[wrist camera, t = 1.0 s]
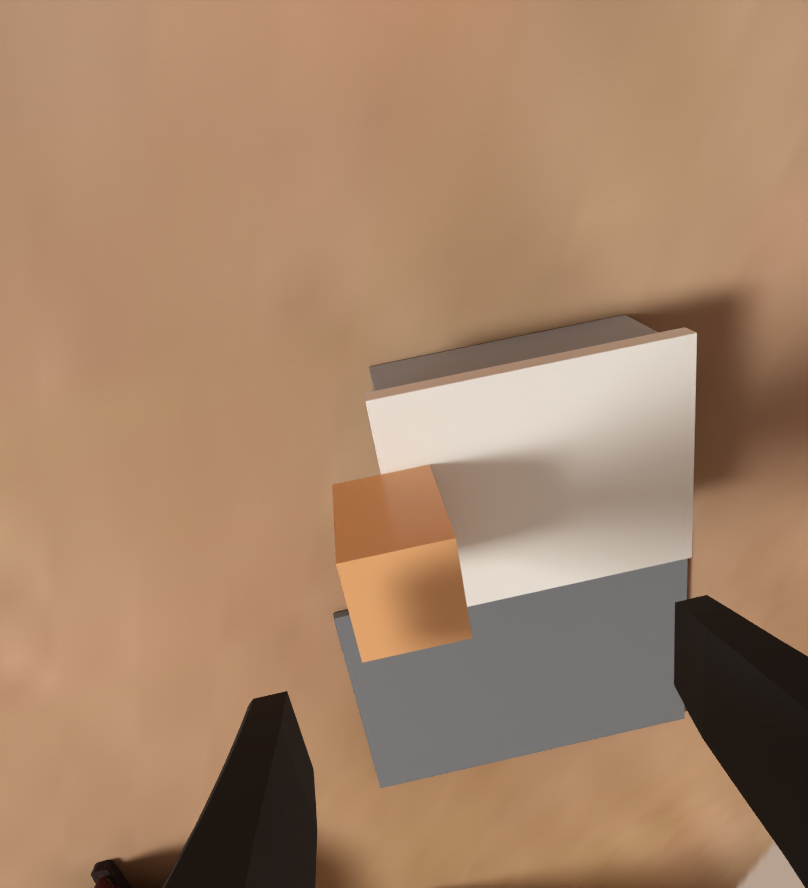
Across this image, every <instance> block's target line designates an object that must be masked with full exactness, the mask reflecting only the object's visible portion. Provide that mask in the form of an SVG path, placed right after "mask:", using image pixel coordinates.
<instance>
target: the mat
mask: <svg viewBox="0 0 808 888" xmlns="http://www.w3.org/2000/svg"><path fill="white" fill-rule="evenodd" d="M687 564H688V558H687V559H683V560H678V561H673V562H669V563H664V564H660V565H655V566H651V567H646V568H642V569H637V570H633V571H628V572H624V573H619V574H615V575H610V576H605V577H601V578H596V579H592V580H587V581H583V582H578V583H574V584H569V585H565V586H560V587H556V588H551V589H546V590H542V591H537V592H533V593H528V594H524V595H519V596H515V597H510V598H506V599H501V600H497V601H492V602H487V603H483V604H478V605H474V606H469V607H467V609H468V615H469V621H470V628H471V634H472V638H471V639H467V640H462V641H458V642H453V643H449V644H444V645H440V646H435V647H431V648H426V649H422V650H417V651H413V652H408V653H404V654H399V655H395V656H390V657H386V658H381V659H377V660H372V661H368V662H363V663H362V660H361V657H360V653H359V649H358V645H357V641H356V638H355V634H354V630H353V626H352V622H351V619H350V615H349V611H348V610H346V611H341V612H336V613H334V621H335V625H336V629H337V632H338V636H339V639H340V643H341V647H342V650H343V654H344V657H345V661H346V665H347V668H348V672H349V675H350V679H351V683H352V686H353V690H354V693H355V697H356V701H357V704H358V708H359V711H360V715H361V719H362V722H363V726H364V729H365V733H366V737H367V740H368V744H369V747H370V751H371V755H372V758H373V762H374V765H375V769H376V773H377V776H378V780H379V783H380V787H381V788H384V787H388V786H393V785H397V784H402V783H406V782H410V781H415V780H419V779H423V778H428V777H432V776H436V775H441V774H445V773H449V772H454V771H458V770H462V769H467V768H471V767H475V766H480V765H484V764H488V763H493V762H497V761H501V760H506V759H510V758H514V757H519V756H523V755H527V754H532V753H536V752H540V751H545V750H549V749H553V748H558V747H562V746H566V745H571V744H575V743H579V742H584V741H588V740H592V739H597V738H601V737H605V736H610V735H614V734H618V733H623V732H627V731H631V730H636V729H640V728H644V727H649V726H653V725H657V724H662V723H666V722H670V721H675V720H679V719H684V713H685V705H684V703H683V701H682V699H681V697H680V695H679V694H678V692H677V690H676V688H675V686H674V633H675V602H679V601H683V600H687Z"/></svg>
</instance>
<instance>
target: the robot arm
mask: <svg viewBox="0 0 808 888" xmlns="http://www.w3.org/2000/svg"><path fill="white" fill-rule="evenodd" d="M674 686H675V688H676V690H677V692H678V694H679V695H680V697H681V699H682V701H683V703H684V705H685V707H686V709H687V711H688V713H689V715H690V716H691V718H692V720H693V722H694V724H695V725H696V727H697V729H698V731H699V733H700V734H701V736H702V738H703V739H704V741H705V742H706V744H707V745H708V747H709V748H710V750H711V751H712V753H713V754H714V755H715V757H716V758H717V760H718V761H719V763H720V764H721V766H722V767H723V769H724V770H725V771H726V773H727V774H728V776H729V777H730V779H731V780H732V782H733V783H734V784H735V786H736V787H737V789H738V790H739V791H740V793H741V794H742V796H743V797H744V799H745V800H746V801H747V803H748V804H749V806H750V807H751V809H752V810H753V811H754V813H755V814H756V816H757V817H758V819H759V820H760V821H761V823H762V824H763V826H764V827H765V829H766V830H767V831H768V833H769V834H770V836H771V837H772V839H773V840H774V841H775V843H776V844H777V846H778V847H779V849H780V850H781V851H782V853H783V854H784V856H785V857H786V859H787V860H788V861H789V863H790V865H791V866H792V868H793V869H794V871H795V872H796V874H797V876H798V877H799V879H800V880H801V881H802V883H803V885H804V886H805V888H808V656H806V655H804V654H803V653H801V652H799V651H798V650H796V649H794V648H793V647H791V646H789V645H788V644H786V643H784V642H783V641H781V640H779V639H778V638H776V637H774V636H773V635H771V634H769V633H768V632H766V631H765V630H763V629H761V628H760V627H758V626H756V625H755V624H753V623H752V622H750V621H748V620H747V619H745V618H744V617H742V616H740V615H739V614H737V613H735V612H734V611H732V610H731V609H729V608H727V607H726V606H724V605H722V604H721V603H719V602H718V601H716V600H714V599H713V598H711V597H709V596H707V595H705V596H701V597H696V598H692V599H687V600H683V601H679V602H675V633H674ZM316 849H317V818H316V800H315V785H314V771H313V767H312V764H311V761H310V758H309V755H308V752H307V749H306V746H305V743H304V740H303V737H302V734H301V731H300V728H299V725H298V722H297V719H296V716H295V713H294V710H293V707H292V704H291V701H290V699H289V696H288V693H287V691H286V692H281V693H277V694H273V695H268V696H264V697H260V698H255V699H253V700H252V701H251V703H250V704H249V706H248V708H247V711H246V714H245V716H244V719H243V721H242V724H241V726H240V729H239V731H238V734H237V736H236V738H235V741H234V743H233V746H232V748H231V750H230V753H229V755H228V757H227V759H226V762H225V764H224V766H223V768H222V771H221V773H220V775H219V777H218V779H217V781H216V784H215V786H214V788H213V790H212V792H211V794H210V796H209V798H208V800H207V803H206V805H205V807H204V809H203V811H202V813H201V815H200V817H199V819H198V821H197V823H196V825H195V827H194V829H193V831H192V833H191V835H190V837H189V838H188V840H187V842H186V844H185V846H184V848H183V850H182V852H181V854H180V855H179V857H178V859H177V861H176V863H175V865H174V867H173V869H172V870H171V872H170V874H169V876H168V878H167V879H166V881H165V883H164V885H163V886H162V888H315V875H316Z"/></svg>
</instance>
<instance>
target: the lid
mask: <svg viewBox="0 0 808 888" xmlns="http://www.w3.org/2000/svg"><path fill="white" fill-rule="evenodd" d="M696 356H697V333H696V332H694V331H692V330H690V329H688V328H686V327H683V328H678V329H674V330H669V331H664V332H659V333H654V334H649V335H644V336H639V337H635V338H630V339H625V340H620V341H615V342H610V343H605V344H601V345H596V346H591V347H586V348H581V349H576V350H571V351H567V352H562V353H557V354H552V355H547V356H542V357H537V358H533V359H528V360H523V361H518V362H513V363H508V364H503V365H498V366H494V367H489V368H484V369H479V370H474V371H469V372H464V373H460V374H455V375H450V376H445V377H440V378H435V379H430V380H426V381H421V382H416V383H411V384H406V385H401V386H396V387H392V388H387V389H382V390H377V391H372V392H367V393H364V396H365V401H366V406H367V411H368V416H369V420H370V425H371V430H372V434H373V439H374V444H375V449H376V453H377V458H378V463H379V467H380V472H381V475H377V476H372V477H367V478H363V479H358V480H353V481H349V482H344V483H339V484H334V485H332V486H333V508H334V530H335V551H336V566H337V569H338V573H339V577H340V581H341V584H342V588H343V592H344V596H345V600H346V603H347V607H348V611H349V615H350V619H351V622H352V626H353V630H354V634H355V638H356V641H357V645H358V649H359V653H360V657H361V660H362V663H363V662H368V661H372V660H377V659H381V658H386V657H390V656H395V655H399V654H404V653H408V652H413V651H417V650H422V649H426V648H431V647H435V646H440V645H444V644H449V643H453V642H458V641H462V640H467V639H471V638H472V634H471V628H470V621H469V615H468V609H467V607H469V606H474V605H478V604H483V603H487V602H492V601H497V600H501V599H506V598H510V597H515V596H519V595H524V594H528V593H533V592H537V591H542V590H546V589H551V588H556V587H560V586H565V585H569V584H574V583H578V582H583V581H587V580H592V579H596V578H601V577H605V576H610V575H615V574H619V573H624V572H628V571H633V570H637V569H642V568H646V567H651V566H655V565H660V564H664V563H669V562H673V561H678V560H683V559H687V558H692V526H693V484H694V441H695V398H696Z"/></svg>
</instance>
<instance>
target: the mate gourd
mask: <svg viewBox="0 0 808 888" xmlns="http://www.w3.org/2000/svg"><path fill="white" fill-rule="evenodd" d="M91 876H92V878H93V880H94V882H95V883H96V885H95V887H94V888H131V886H130V885H129V883H128V882H127V880H126V879H125V877H124V876H123V874H122V873H121V871H120V870H119V869H118V867H117V866H116V865H115V863H114V862H113V861H112V860H106V861H103V862H99V863H97V864H95V866H94V869H93V871H92V873H91Z"/></svg>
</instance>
